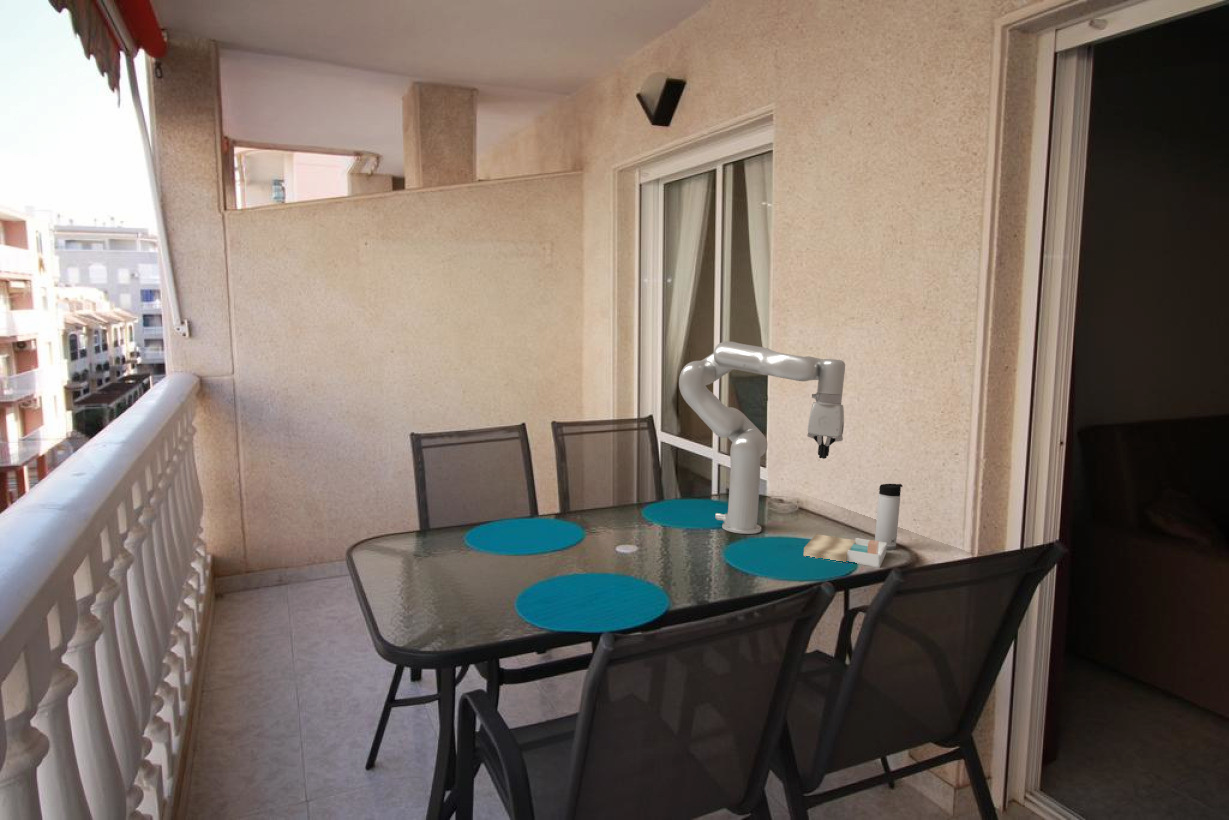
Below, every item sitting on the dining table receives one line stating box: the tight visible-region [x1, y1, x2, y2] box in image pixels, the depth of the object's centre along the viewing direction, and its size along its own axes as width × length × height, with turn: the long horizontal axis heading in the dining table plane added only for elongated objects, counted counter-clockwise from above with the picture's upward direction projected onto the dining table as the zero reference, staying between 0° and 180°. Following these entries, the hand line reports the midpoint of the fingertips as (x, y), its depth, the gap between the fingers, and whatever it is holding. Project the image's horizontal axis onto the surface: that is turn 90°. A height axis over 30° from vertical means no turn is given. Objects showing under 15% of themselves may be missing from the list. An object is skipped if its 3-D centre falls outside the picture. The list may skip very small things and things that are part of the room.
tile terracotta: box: [867, 539, 879, 555], centre depth 223 cm, size 4×4×2 cm
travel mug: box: [874, 483, 903, 551], centre depth 236 cm, size 6×7×20 cm
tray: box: [847, 537, 887, 569], centre depth 224 cm, size 9×16×4 cm, turn 154°
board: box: [803, 534, 855, 563], centre depth 228 cm, size 12×18×2 cm, turn 154°
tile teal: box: [851, 544, 868, 553], centre depth 225 cm, size 4×4×2 cm
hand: (822, 457), depth 239 cm, fingers closed
